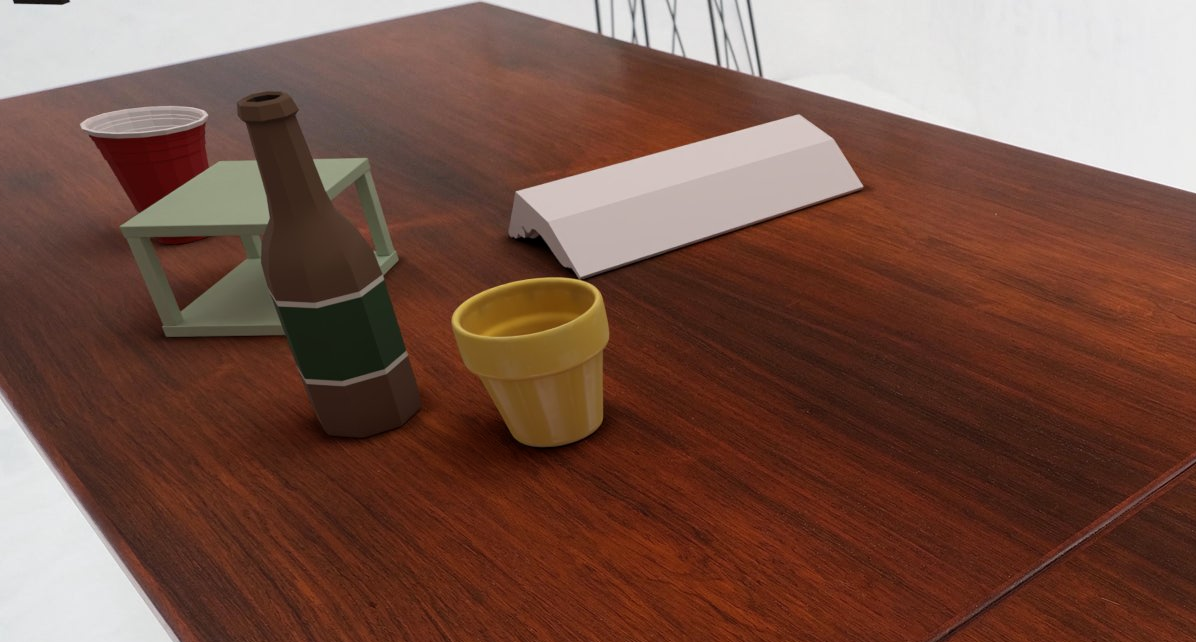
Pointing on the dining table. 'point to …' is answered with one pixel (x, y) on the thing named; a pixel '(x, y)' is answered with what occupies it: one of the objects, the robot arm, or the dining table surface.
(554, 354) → the flower pot
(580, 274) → the molding piece
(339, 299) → the beer bottle
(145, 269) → the rack
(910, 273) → the dining table surface
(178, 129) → the plastic cup
